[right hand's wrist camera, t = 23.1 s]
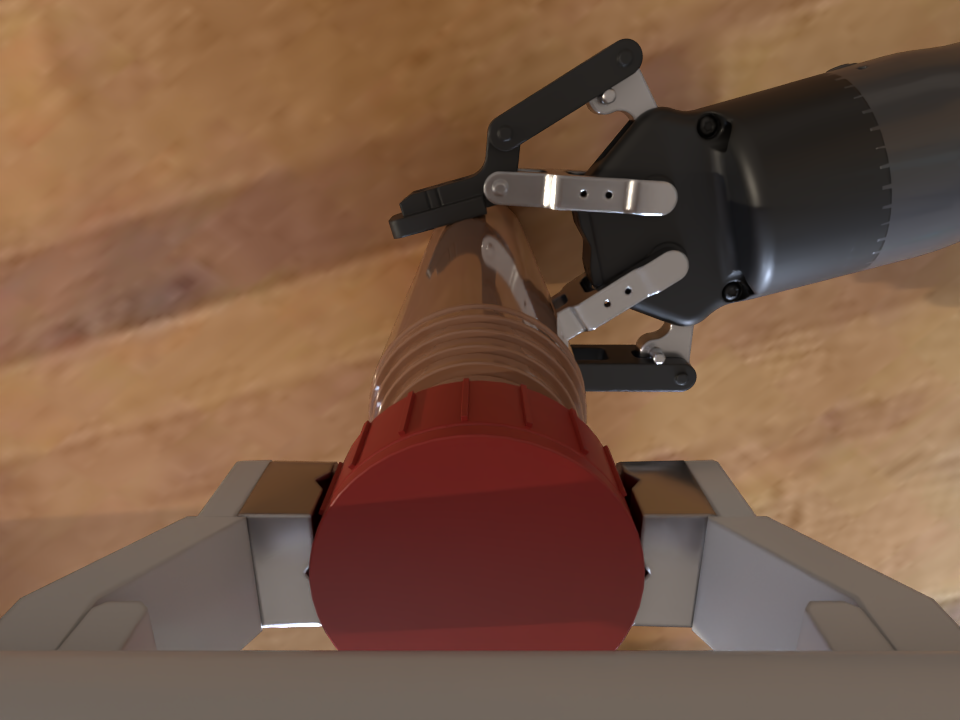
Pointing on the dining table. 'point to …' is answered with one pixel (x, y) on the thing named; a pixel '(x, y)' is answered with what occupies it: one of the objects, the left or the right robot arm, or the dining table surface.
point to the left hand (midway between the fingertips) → (415, 289)
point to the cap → (476, 530)
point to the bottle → (478, 319)
